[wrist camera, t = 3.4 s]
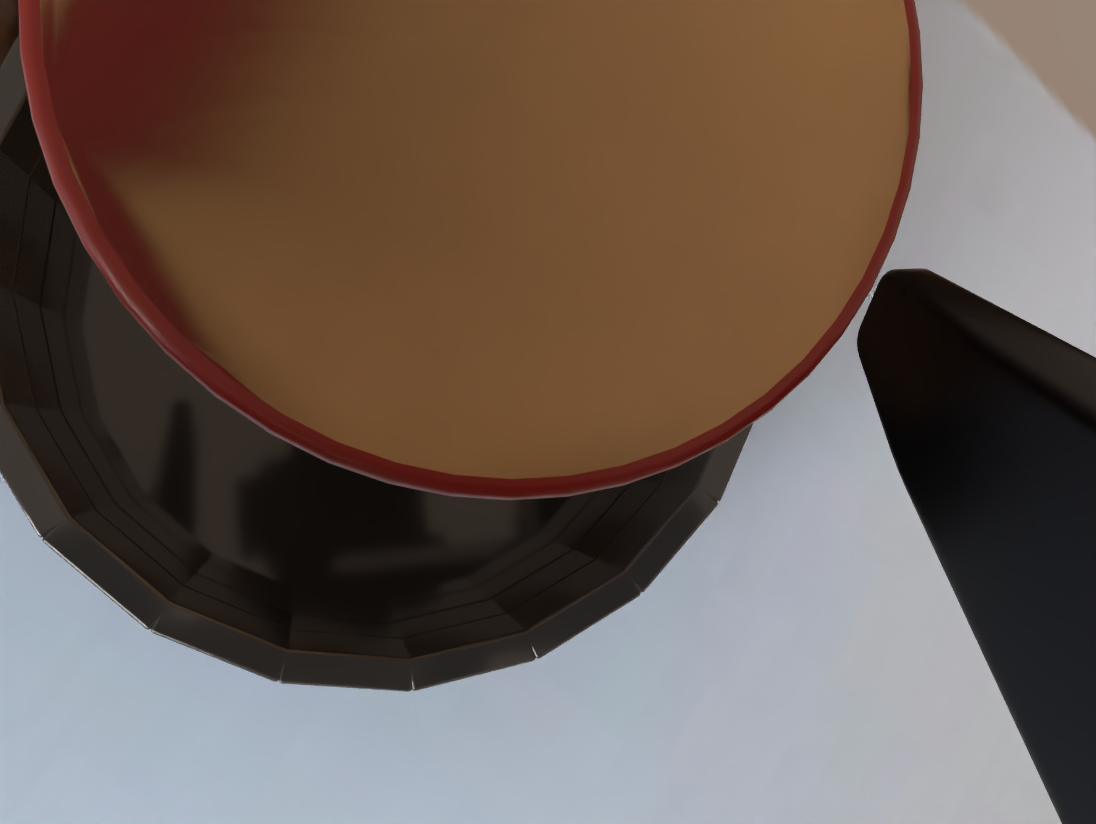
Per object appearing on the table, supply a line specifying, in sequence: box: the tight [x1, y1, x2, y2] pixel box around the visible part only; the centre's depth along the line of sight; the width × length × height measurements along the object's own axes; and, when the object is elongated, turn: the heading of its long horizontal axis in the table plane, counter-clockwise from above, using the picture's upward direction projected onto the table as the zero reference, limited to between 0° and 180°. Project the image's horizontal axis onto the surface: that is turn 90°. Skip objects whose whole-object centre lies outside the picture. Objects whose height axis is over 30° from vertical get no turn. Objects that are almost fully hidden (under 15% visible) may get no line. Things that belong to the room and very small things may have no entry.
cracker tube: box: [18, 0, 923, 500], centre depth 12 cm, size 6×6×12 cm
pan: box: [0, 33, 753, 691], centre depth 16 cm, size 12×12×4 cm
